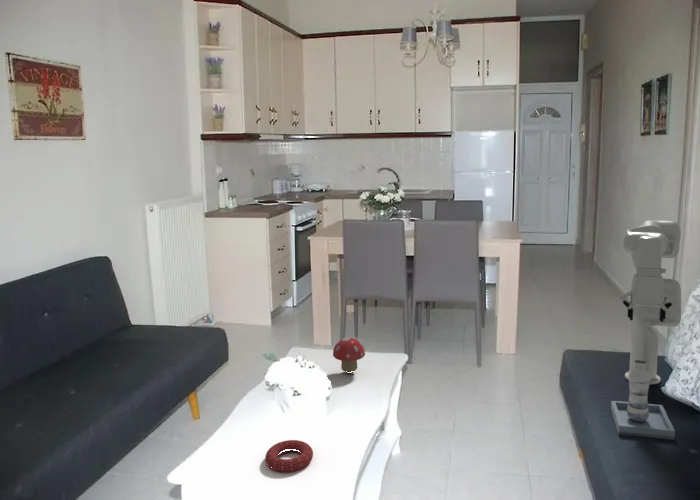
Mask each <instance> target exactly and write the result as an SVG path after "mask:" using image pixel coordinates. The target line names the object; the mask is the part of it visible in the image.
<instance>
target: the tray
mask: <svg viewBox="0 0 700 500" xmlns="http://www.w3.org/2000/svg"><path fill="white" fill-rule="evenodd" d="M628 403H629V401H621V400H620V401H619V400H611V402H610V411H611V413H612V417H613V420H614V424H615V427H616V431H617V434H618V435H620V436H630V437H640V438H648V439H649V438H650V439H659V440H671V441H675V438H676V437H675V436H676V430H675V428H674V426H673V424H672V422H671V420H670V418H669V416H668V413H667V412H666V410H665V408H664V406H663V404H653V403H648V410H649V416H648V419H647V420H646V421H645V422H637V421H633V420H631V419H629V417H628V416H627V407H628Z"/></svg>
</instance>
